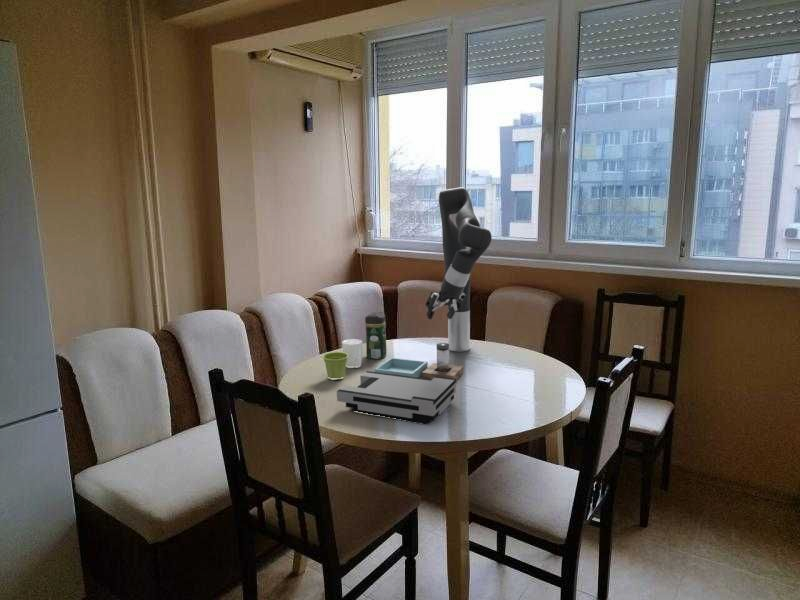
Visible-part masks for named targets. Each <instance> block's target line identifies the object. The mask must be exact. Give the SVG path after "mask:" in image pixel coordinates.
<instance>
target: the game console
mask: <svg viewBox="0 0 800 600" xmlns="http://www.w3.org/2000/svg"><path fill="white" fill-rule="evenodd" d="M456 393H457V380H456V379H454V378H446V377H438V376H436V377H435V378H433V379H426V378H422V377H421V378H418V377H410V376H402V375H395V374H387V373H379V372H374V371H370V370H366V371H365V372H364V373H362V374H361V375H360V384H359V385H358V386H351V385H344V386H342V387H341V388H339V389H338V390H336V401H337V402H338V403H339V402H340V403H345V408H350V409H352V412H353V411H358V412H363V413H368V414H373V415H380V416H385V417H390V418H396V419H401V420H400V421H402V420H406V421H405V422H408V421H410V423H414V422H416V423H415V424H420V423H422V424H421V425H426V424H427V425H429V423H430V422H431V421H432V422H433V421H435V420H436V418H437V417H439V416H441V414H442V413H443V412H444V411H445V410H446V409H447V408H448V407H449V406H450V405H451V403H452V401H453V400H454V399H455V394H456ZM396 419H395V420H396Z"/></svg>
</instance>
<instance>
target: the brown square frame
mask: <svg viewBox="0 0 800 600" xmlns="http://www.w3.org/2000/svg"><path fill="white" fill-rule="evenodd" d="M463 374H464V366H463V365H455V364H454V365H453V364H449V372H439V371H437V362H436V363H435V362H433V363H431V364H430V365H429V366H428V368H427V369H426V370H424V371H423V372H422V377H421V378H426V379H433V378H435V377H436V376H438V377H446V378H454V379H456V381H457V380H458V379H459V378H460V377H461V376H462V375H463Z"/></svg>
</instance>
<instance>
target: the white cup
mask: <svg viewBox="0 0 800 600" xmlns="http://www.w3.org/2000/svg"><path fill="white" fill-rule="evenodd" d="M341 346H342V353H346V354H348V358H347V361H346V365H347V366H359V365H361V364H362V365H363V363H362V362H363V361H362V360H363V340H361V339H357V338H350V339H344V340H342V342H341Z"/></svg>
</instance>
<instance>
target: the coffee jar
mask: <svg viewBox="0 0 800 600" xmlns="http://www.w3.org/2000/svg"><path fill="white" fill-rule="evenodd" d="M364 320H365V323H364V325H365V340H366V342H365V343H366V345H365V347H366V349H365V350H366V353H365V354H366V358H367V357H370V358H369V359H371V358H380V359H384V358H385V357H386V355H387V351H388V350H387V333H386V330H387V329H386V314H385V313H384V312H382V311H372V312H371V313H369V314H367V315H366V316H365V318H364ZM384 356H385V357H384Z"/></svg>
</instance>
